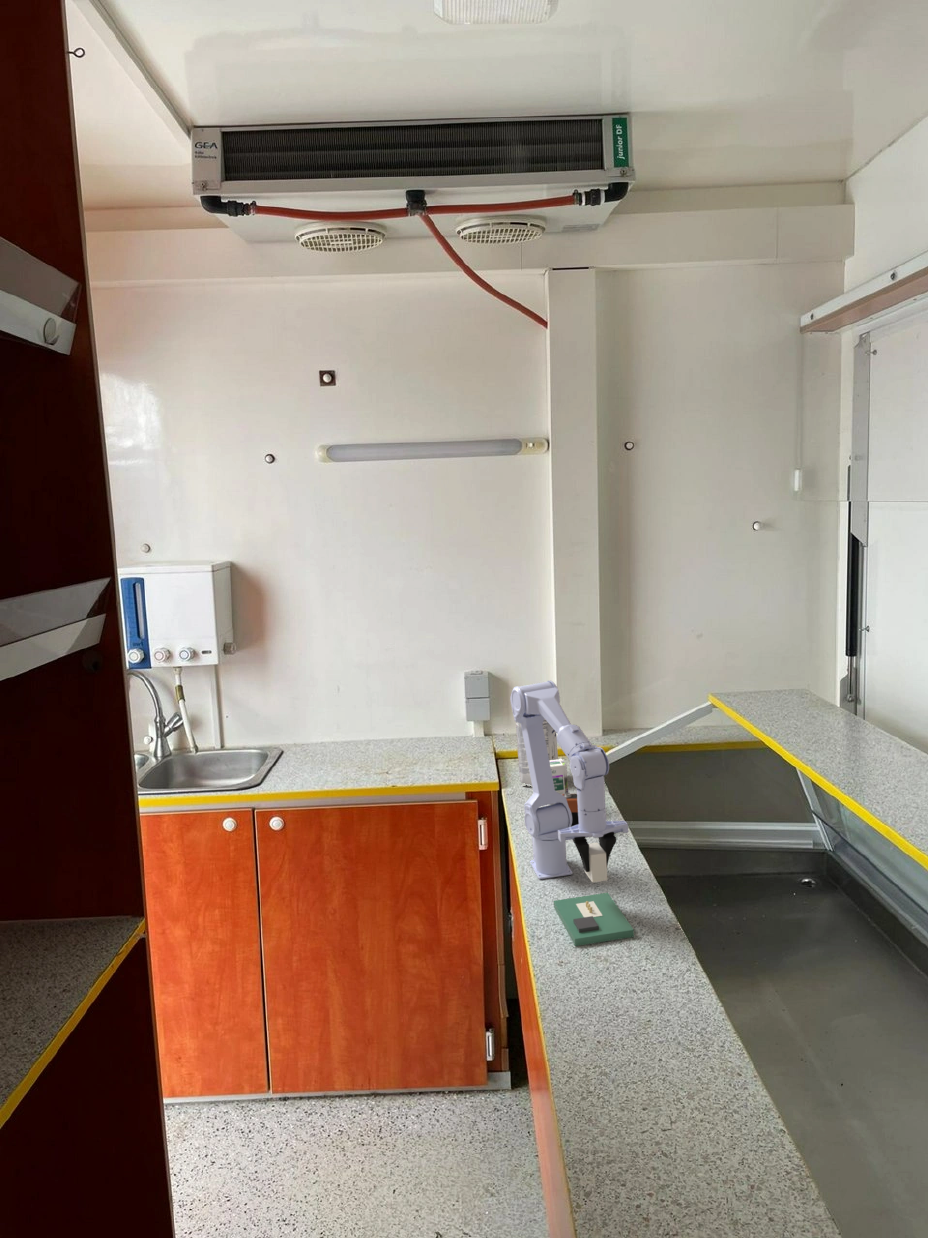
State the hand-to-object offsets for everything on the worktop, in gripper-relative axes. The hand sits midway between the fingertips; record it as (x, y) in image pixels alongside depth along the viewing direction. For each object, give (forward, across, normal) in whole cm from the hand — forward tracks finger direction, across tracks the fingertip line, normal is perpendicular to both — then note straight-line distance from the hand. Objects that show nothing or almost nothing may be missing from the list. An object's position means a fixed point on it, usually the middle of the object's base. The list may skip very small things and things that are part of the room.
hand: (595, 868), depth 183 cm
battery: (+9, +8, +40) cm, 42 cm away
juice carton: (+9, +7, +75) cm, 76 cm away
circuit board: (+9, -3, -5) cm, 10 cm away
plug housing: (+2, 0, 0) cm, 2 cm away
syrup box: (+9, +6, +52) cm, 53 cm away
